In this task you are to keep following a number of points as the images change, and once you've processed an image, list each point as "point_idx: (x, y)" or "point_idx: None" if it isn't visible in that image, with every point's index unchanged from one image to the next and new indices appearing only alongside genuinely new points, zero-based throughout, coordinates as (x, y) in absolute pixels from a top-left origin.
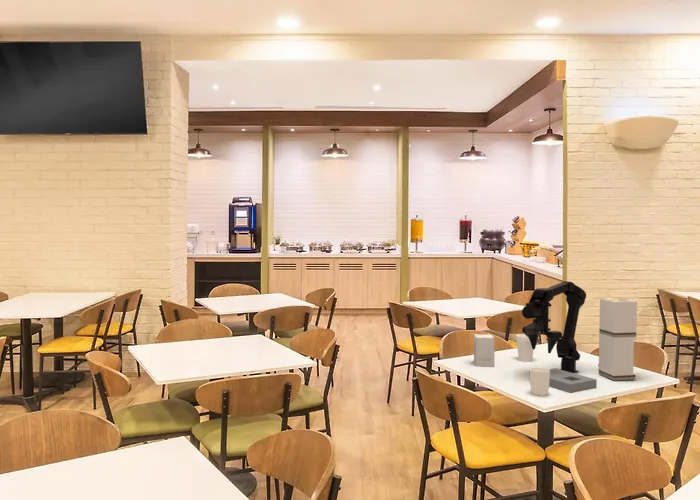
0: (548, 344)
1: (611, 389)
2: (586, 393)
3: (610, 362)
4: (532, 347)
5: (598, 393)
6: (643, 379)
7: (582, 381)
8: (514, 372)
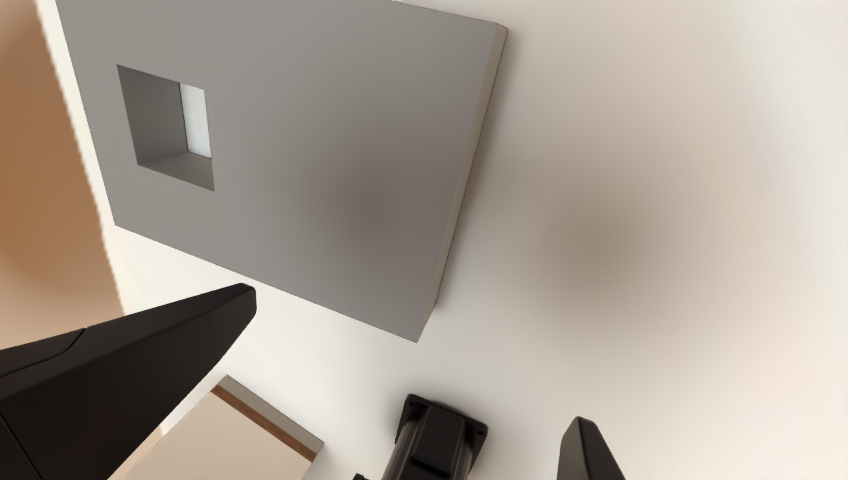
0: (56, 363)
1: None
2: None
3: (182, 462)
4: (598, 448)
5: (78, 100)
6: None
7: (91, 108)
8: (791, 206)
